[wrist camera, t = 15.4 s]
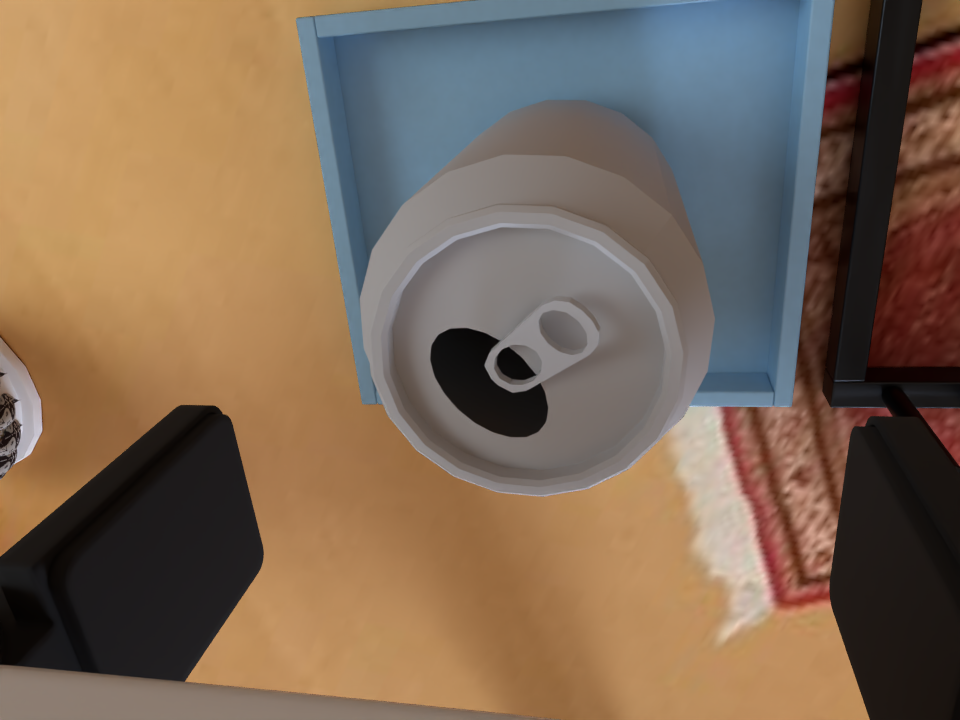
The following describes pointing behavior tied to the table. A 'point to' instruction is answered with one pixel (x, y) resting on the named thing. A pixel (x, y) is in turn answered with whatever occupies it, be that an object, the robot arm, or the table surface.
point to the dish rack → (878, 232)
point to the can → (540, 304)
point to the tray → (612, 84)
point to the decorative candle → (17, 410)
